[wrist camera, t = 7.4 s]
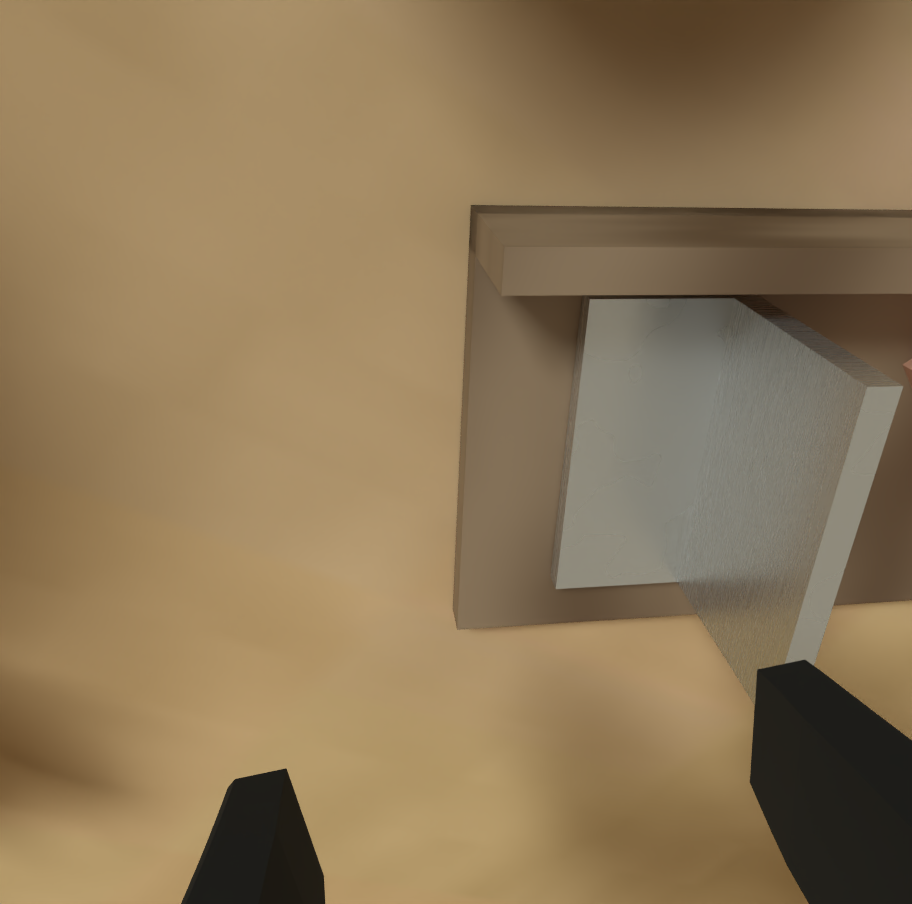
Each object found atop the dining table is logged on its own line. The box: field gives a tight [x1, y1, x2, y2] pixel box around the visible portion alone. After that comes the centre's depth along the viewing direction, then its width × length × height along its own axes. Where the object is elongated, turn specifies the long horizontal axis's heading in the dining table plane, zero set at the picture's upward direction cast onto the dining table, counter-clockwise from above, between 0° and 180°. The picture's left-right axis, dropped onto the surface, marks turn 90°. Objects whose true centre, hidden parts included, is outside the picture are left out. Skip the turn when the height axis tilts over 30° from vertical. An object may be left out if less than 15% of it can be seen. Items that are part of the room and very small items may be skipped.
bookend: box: [551, 294, 903, 705], centre depth 16 cm, size 4×7×5 cm, turn 178°
